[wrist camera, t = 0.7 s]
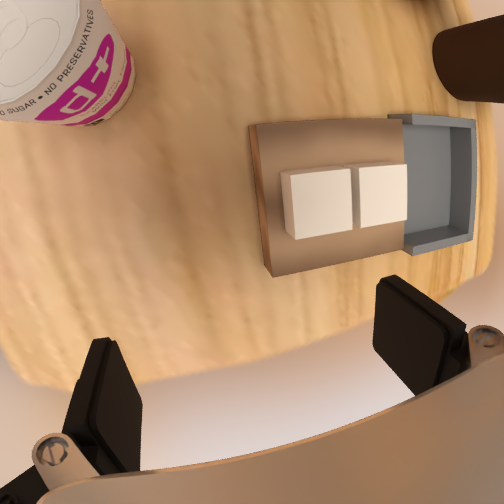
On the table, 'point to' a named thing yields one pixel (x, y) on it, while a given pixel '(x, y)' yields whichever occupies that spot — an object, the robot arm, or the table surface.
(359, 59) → the table surface
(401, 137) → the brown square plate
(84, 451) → the robot arm
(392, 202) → the tile
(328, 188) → the tile
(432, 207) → the box
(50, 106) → the supplement can
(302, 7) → the table surface
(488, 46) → the olive oil
